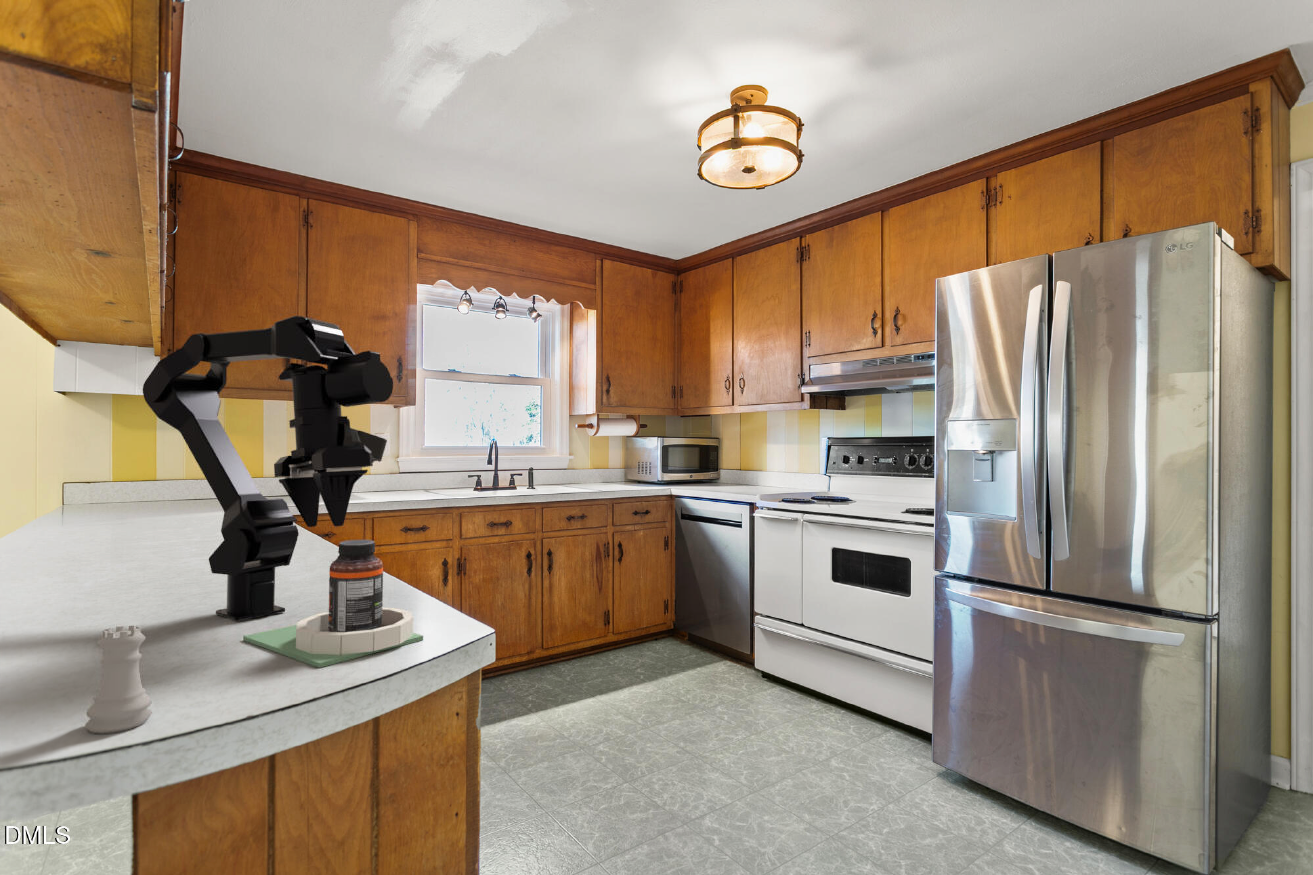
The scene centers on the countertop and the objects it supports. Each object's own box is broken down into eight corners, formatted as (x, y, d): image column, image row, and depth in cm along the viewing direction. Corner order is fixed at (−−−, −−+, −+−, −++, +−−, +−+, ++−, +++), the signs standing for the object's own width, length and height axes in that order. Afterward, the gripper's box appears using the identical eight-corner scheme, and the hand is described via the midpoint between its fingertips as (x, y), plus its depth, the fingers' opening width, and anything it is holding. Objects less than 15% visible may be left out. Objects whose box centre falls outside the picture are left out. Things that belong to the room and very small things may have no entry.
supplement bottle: (331, 630, 82) (333, 539, 82) (383, 627, 84) (385, 537, 84) (324, 644, 77) (326, 545, 77) (380, 640, 79) (382, 544, 79)
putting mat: (243, 640, 81) (243, 635, 81) (345, 618, 91) (345, 614, 91) (319, 667, 71) (319, 663, 71) (423, 639, 82) (423, 635, 82)
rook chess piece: (114, 738, 54) (117, 638, 54) (69, 732, 55) (72, 634, 55) (165, 716, 58) (168, 624, 58) (123, 711, 59) (126, 620, 59)
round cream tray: (275, 641, 79) (275, 622, 79) (372, 619, 89) (373, 602, 89) (334, 661, 72) (334, 641, 72) (432, 635, 82) (433, 617, 82)
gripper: (407, 402, 90) (415, 518, 89) (350, 419, 102) (356, 520, 102) (320, 401, 81) (328, 528, 81) (270, 419, 94) (276, 529, 93)
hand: (325, 526), depth 89 cm, fingers open, 9 cm apart
